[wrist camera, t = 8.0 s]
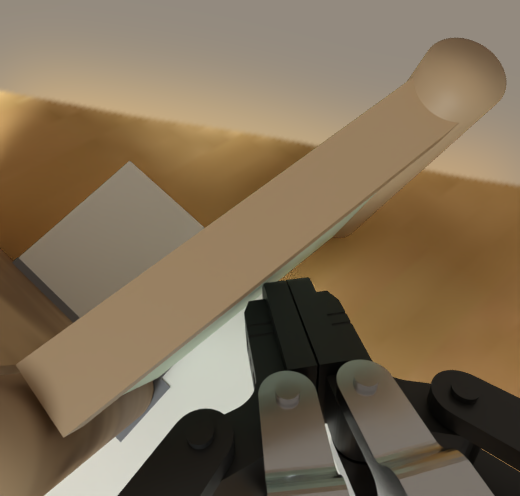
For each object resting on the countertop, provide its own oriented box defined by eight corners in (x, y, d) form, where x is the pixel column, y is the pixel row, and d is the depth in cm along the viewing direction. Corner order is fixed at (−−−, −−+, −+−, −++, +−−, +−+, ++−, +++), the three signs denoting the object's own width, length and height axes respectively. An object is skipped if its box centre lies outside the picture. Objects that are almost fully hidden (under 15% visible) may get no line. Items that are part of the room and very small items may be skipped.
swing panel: (338, 192, 17) (462, 24, 8) (365, 221, 17) (522, 82, 8) (136, 348, 14) (-7, 355, 6) (163, 386, 14) (59, 456, 5)
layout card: (478, 474, 15) (483, 477, 15) (181, 966, 11) (179, 986, 11) (131, 163, 17) (129, 160, 17) (-228, 478, 13) (-241, 481, 13)
